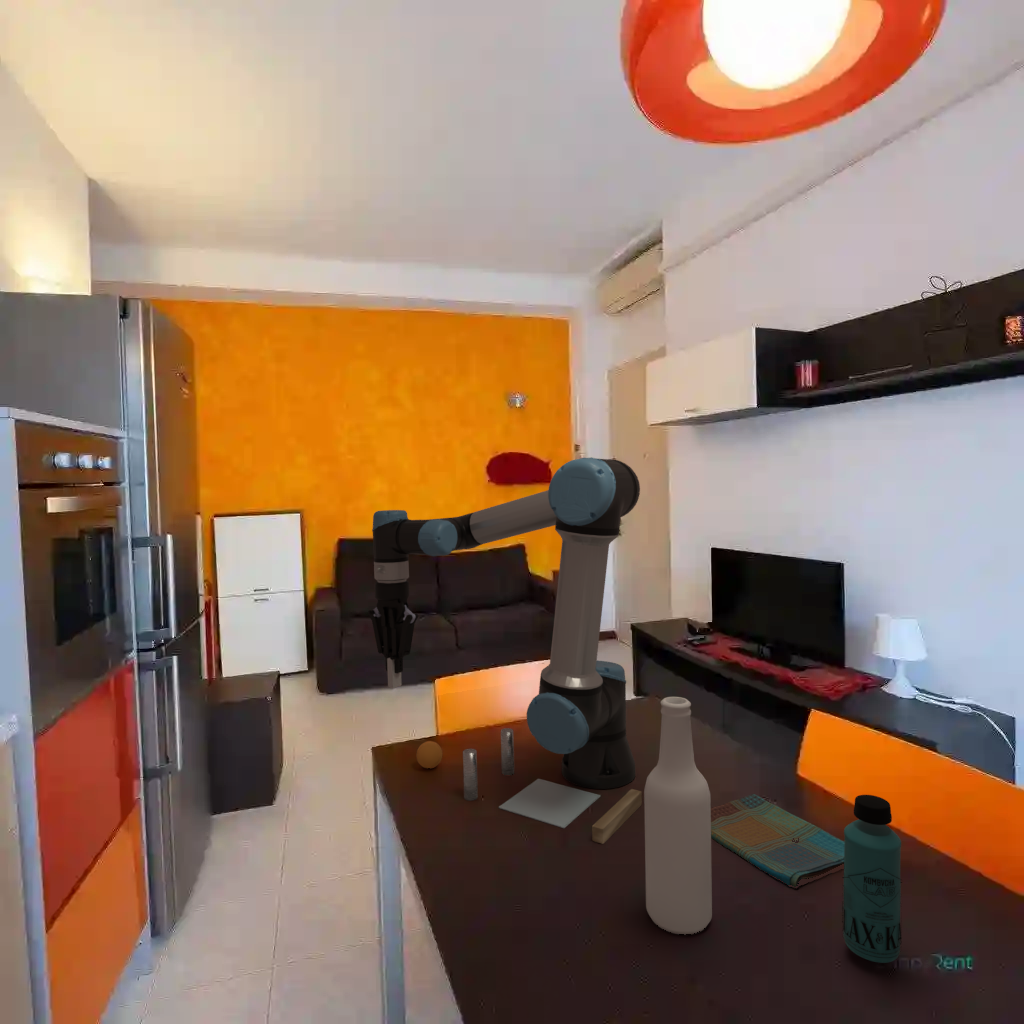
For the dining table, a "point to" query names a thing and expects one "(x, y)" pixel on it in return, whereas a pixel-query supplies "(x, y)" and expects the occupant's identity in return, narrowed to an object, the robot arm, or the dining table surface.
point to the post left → (470, 774)
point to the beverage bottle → (872, 882)
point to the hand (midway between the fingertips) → (394, 686)
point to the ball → (429, 754)
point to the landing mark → (550, 802)
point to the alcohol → (677, 829)
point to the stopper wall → (616, 816)
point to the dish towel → (775, 839)
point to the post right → (507, 751)
